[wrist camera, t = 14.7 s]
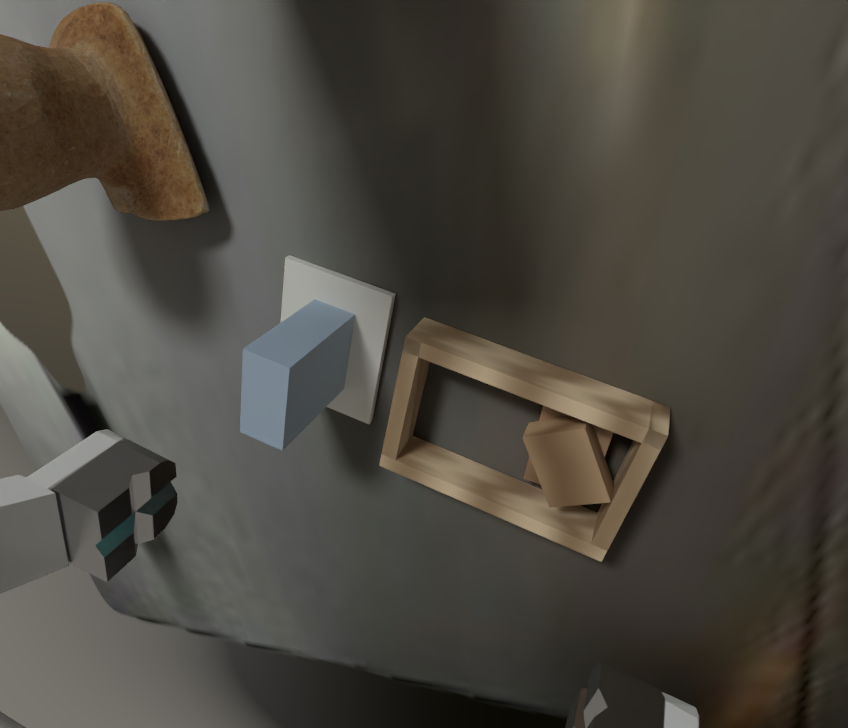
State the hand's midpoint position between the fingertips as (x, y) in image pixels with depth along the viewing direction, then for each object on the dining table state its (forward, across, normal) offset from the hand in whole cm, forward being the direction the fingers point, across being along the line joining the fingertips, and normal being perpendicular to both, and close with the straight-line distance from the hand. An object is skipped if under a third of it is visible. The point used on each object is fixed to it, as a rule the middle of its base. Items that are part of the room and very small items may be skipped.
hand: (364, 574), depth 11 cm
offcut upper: (+30, -4, +18) cm, 35 cm away
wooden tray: (+31, 0, +18) cm, 36 cm away
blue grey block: (+31, +16, +17) cm, 38 cm away
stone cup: (+31, +35, +5) cm, 47 cm away
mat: (+31, +16, +17) cm, 39 cm away
